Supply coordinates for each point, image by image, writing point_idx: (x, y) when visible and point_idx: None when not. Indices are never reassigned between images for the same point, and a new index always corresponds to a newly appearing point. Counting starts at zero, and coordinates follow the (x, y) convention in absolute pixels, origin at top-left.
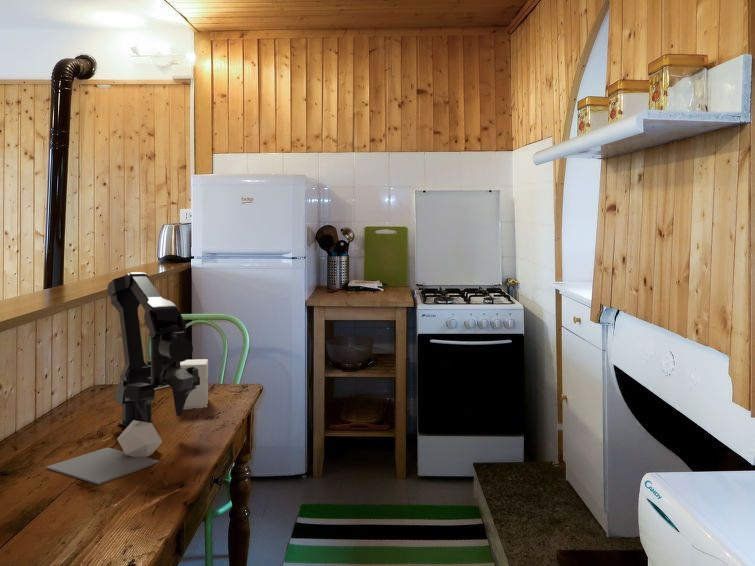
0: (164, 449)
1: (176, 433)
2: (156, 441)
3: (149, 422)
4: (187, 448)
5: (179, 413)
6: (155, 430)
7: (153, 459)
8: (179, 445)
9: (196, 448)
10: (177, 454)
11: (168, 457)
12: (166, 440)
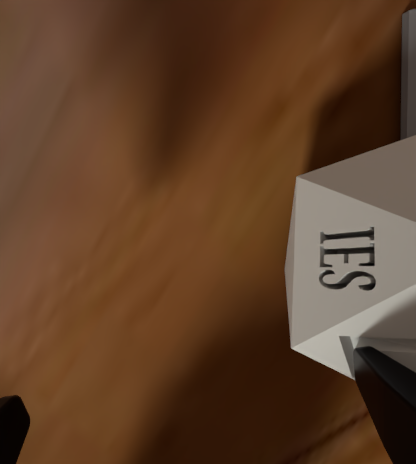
0: (235, 215)
1: (60, 385)
2: (367, 157)
3: (383, 357)
4: (136, 128)
5: (4, 415)
6: (393, 209)
7: (410, 67)
8: (142, 213)
9: (96, 82)
10: (238, 72)
11: (305, 64)
12: (149, 331)
